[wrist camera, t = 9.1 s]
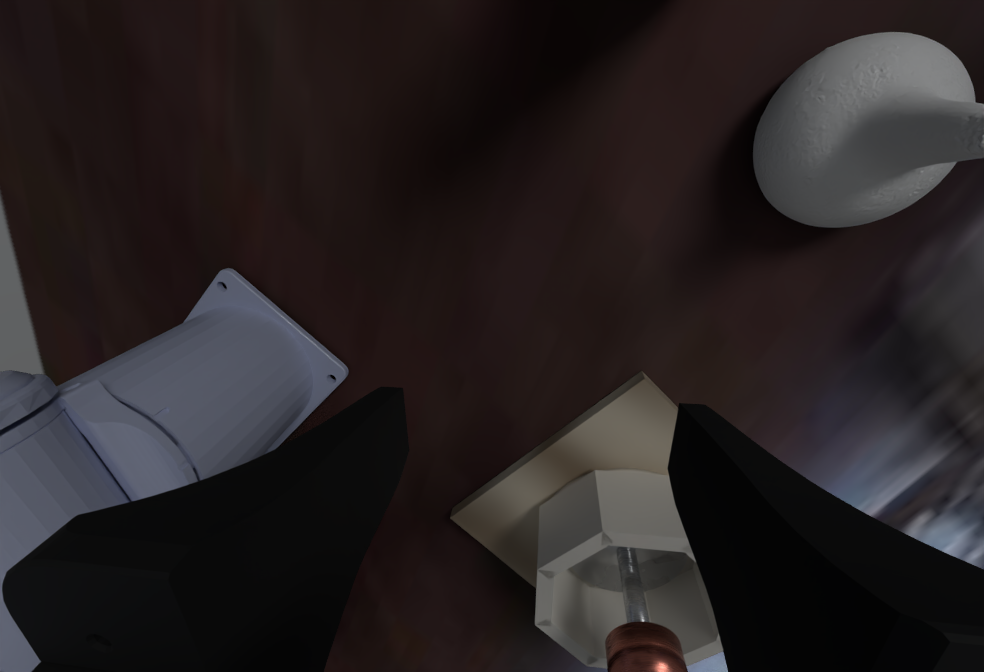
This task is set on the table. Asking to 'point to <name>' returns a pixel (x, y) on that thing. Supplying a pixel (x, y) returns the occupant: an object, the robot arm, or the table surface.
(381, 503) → the robot arm
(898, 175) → the garlic bulb
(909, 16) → the table surface
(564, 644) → the press carafe
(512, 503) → the board
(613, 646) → the plunger
